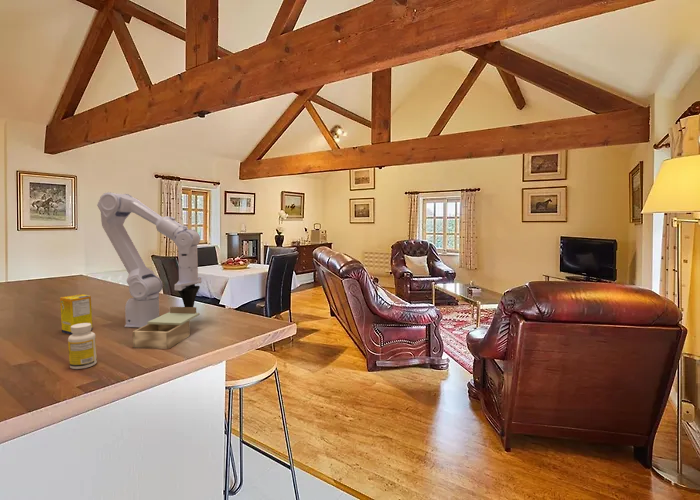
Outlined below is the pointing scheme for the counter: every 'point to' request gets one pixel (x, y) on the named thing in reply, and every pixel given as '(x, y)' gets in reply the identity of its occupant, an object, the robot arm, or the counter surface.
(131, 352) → the counter surface
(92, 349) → the supplement bottle
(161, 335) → the box
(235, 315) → the counter surface
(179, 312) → the lid
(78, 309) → the supplement box
